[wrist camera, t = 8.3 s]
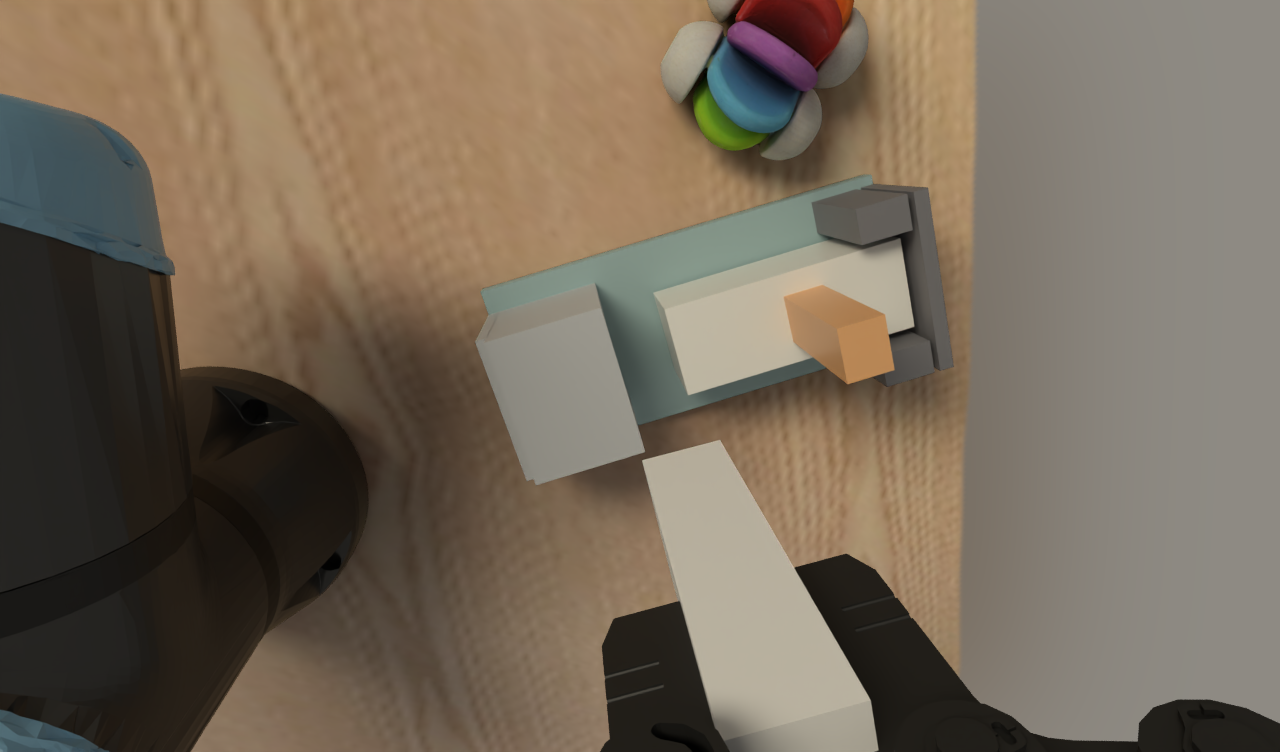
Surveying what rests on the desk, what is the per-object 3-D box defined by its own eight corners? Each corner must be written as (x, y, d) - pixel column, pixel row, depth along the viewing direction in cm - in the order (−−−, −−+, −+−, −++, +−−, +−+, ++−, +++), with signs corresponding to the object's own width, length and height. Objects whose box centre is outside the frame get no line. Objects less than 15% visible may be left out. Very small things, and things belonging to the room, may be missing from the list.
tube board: (540, 448, 41) (534, 511, 34) (482, 288, 38) (462, 319, 31) (892, 341, 41) (963, 380, 34) (863, 174, 38) (935, 177, 31)
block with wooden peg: (674, 369, 39) (717, 449, 28) (652, 292, 38) (688, 345, 27) (875, 308, 39) (996, 365, 28) (861, 229, 38) (982, 256, 27)
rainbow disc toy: (870, 21, 36) (941, -12, 29) (768, 186, 38) (812, 191, 31) (737, -80, 34) (780, -141, 27) (636, 100, 36) (653, 85, 29)
